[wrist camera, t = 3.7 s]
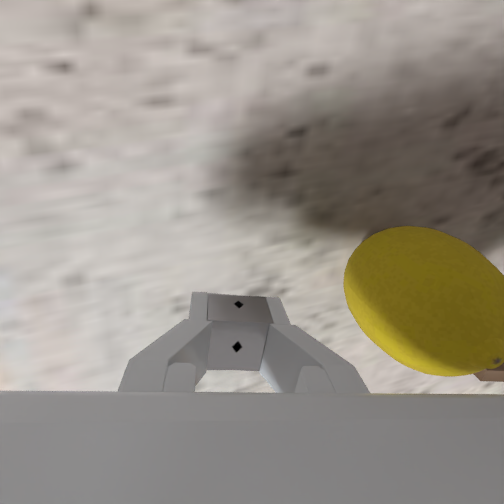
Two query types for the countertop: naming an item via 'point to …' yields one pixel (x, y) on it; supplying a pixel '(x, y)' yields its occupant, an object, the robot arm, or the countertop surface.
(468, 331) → the lemon
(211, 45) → the countertop surface
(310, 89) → the countertop surface
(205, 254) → the countertop surface
